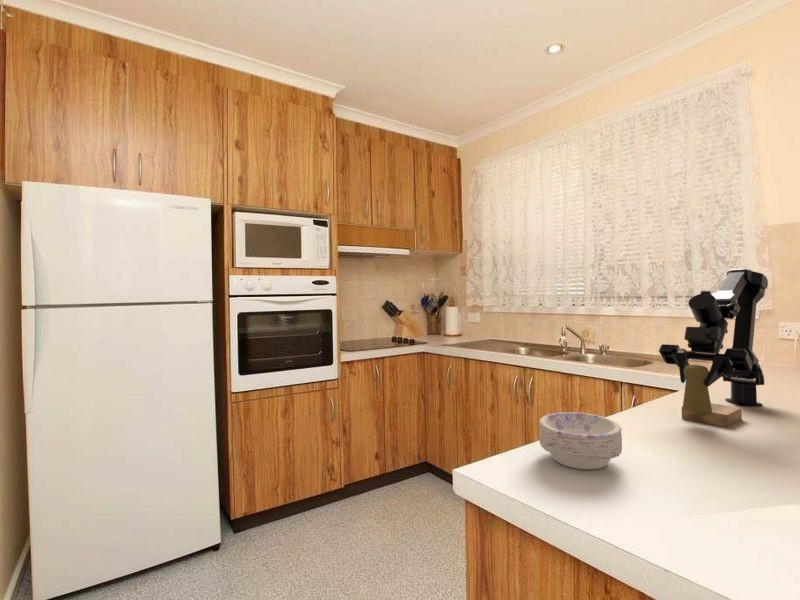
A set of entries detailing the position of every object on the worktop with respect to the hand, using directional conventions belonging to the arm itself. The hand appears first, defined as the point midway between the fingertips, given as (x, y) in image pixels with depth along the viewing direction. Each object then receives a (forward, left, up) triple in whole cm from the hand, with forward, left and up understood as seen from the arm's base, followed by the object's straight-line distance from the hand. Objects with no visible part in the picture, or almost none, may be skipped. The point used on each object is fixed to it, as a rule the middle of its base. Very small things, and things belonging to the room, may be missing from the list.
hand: (694, 383), depth 103 cm
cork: (-1, +1, -7) cm, 7 cm away
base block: (-7, +7, -11) cm, 15 cm away
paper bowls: (+25, -33, -11) cm, 43 cm away
